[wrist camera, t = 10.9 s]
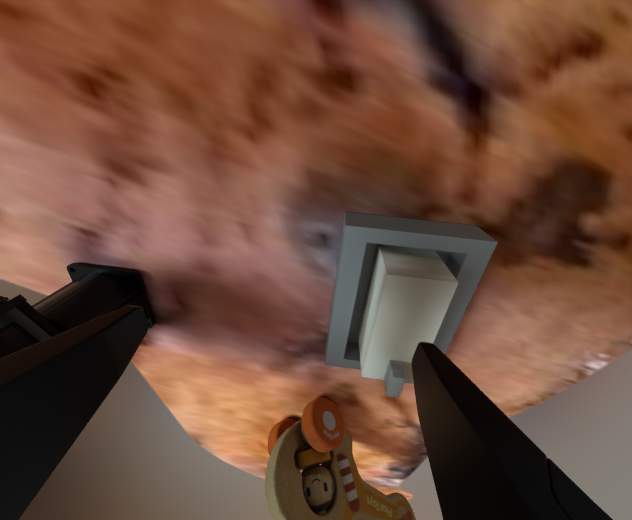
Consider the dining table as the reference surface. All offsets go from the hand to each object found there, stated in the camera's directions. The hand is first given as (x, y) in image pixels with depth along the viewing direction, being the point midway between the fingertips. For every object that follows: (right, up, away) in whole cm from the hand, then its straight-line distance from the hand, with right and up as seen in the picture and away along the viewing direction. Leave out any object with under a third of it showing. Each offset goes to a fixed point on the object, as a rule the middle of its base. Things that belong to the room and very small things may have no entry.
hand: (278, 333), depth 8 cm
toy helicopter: (+5, -20, +24) cm, 31 cm away
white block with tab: (+7, 0, +12) cm, 14 cm away
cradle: (+7, 0, +13) cm, 15 cm away
